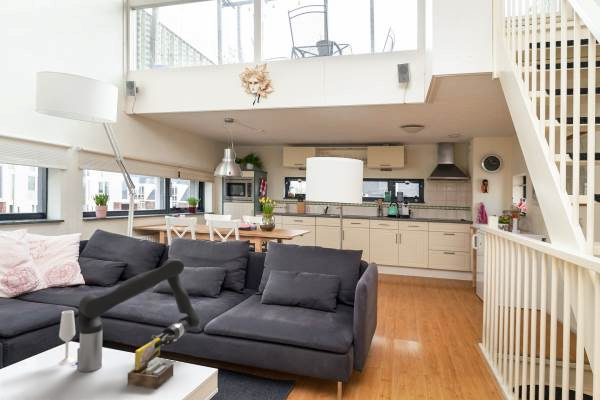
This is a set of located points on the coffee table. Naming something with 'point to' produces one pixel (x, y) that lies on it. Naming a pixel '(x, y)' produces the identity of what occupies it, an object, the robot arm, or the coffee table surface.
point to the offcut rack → (149, 377)
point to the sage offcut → (152, 367)
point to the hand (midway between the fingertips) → (153, 345)
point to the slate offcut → (159, 370)
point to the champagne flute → (67, 332)
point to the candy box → (146, 354)
